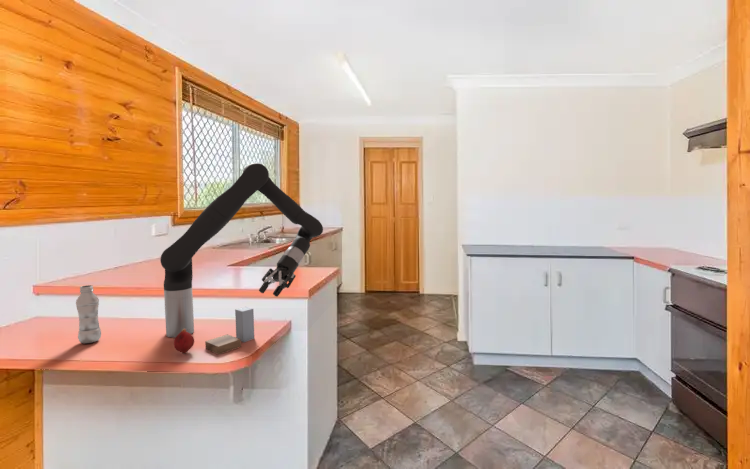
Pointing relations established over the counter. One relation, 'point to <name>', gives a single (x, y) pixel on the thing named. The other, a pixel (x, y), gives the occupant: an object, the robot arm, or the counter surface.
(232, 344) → the base slab
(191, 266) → the robot arm
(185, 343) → the onion
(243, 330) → the pillar
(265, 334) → the counter surface
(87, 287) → the plastic bottle
